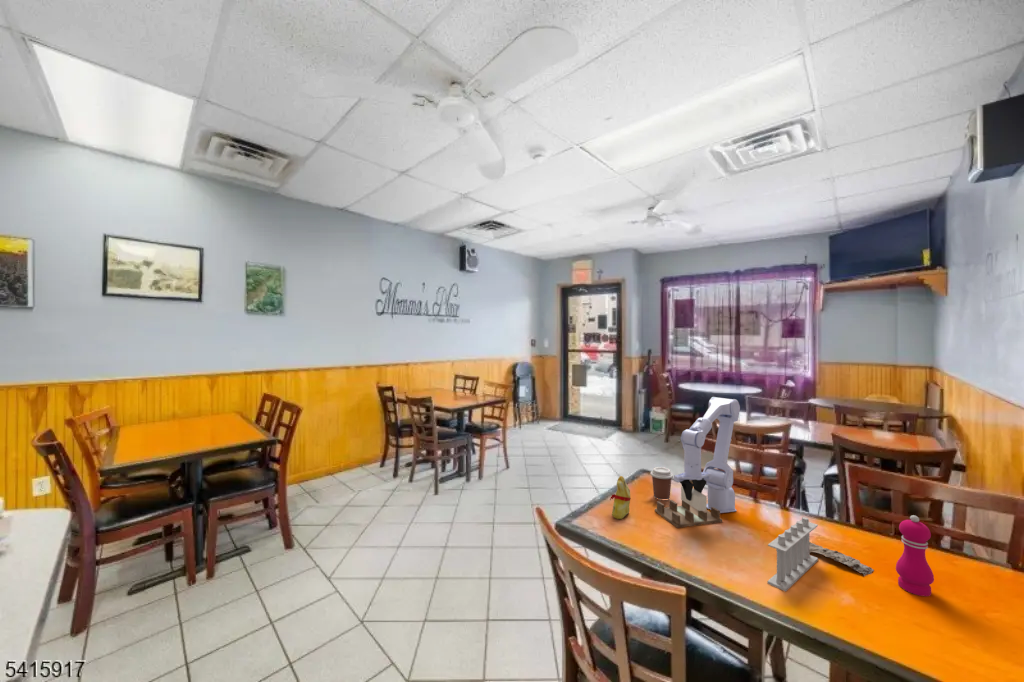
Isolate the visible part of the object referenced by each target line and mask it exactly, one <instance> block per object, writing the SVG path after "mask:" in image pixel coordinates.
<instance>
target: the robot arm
mask: <svg viewBox="0 0 1024 682" xmlns="http://www.w3.org/2000/svg"><path fill="white" fill-rule="evenodd" d="M740 409H741V406H740V402H739V401H738V400H737V399H735V398H733V399H732V398H724V397H716V396H712V397H711V398H710V399H709V401H708V408H707V410H706V412H705V413H704V415H703V416H702V417H698V418H697V419H696V420H695V422H693V424H692V425H691V426H690V427H689V429H688V428H687V429H685V430H683V431H682V433H681V435H680V442H681V444H682V449H683V451H684V452H683V453H684V454H683V456H684V457H683V459H684V461H683V462H684V463H683V464H684V465H683V466H684V467H683V469H684V472H682V473H679V474H675V475H674V474H673V480H674V482H676V483H680V484H681V486H682V487H683V489H684V492H685V496H686V499H687V500H689V501H691V499H692V489H695V490H696V491H698V492H700V493H702V494H703V490H704V488H705V487H706V486H707V509H708V510H709V509H710V511H711V507H714V508H716V509H718V510H719V511H720V514H724V513H731V512H732V513H734V512H737V509H736V493H735V490H734V489H733V487H732V486H733V484H734V470H733V468H732V467H731V466H730V465H729V464H728V459H729V454H730V453H729V452H730V447H731V441H732V436H733V429H734V425H735V423H736V422H738V420H739V416H740ZM716 419H717V420H718V421H719V424H718V429H717V434H716V435H717V436H716V441H715V446H714V452H713V458H712V459H711V460H709V461H708V462H706V463H705V465H704V468H703V471H702V447H703V446H704V444H705V440H706V439H707V435H708V434H709V432H710V431H711V430H712V428H713V427H712V426H713V425H712V424H713V422H714V421H715V420H716Z"/></svg>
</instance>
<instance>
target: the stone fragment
mask: <svg viewBox="0 0 1024 682" xmlns="http://www.w3.org/2000/svg"><path fill="white" fill-rule="evenodd" d="M809 553H815V554H816V553H817V554H820V555H823V556H825V557H827V558H830V559H833V560H834V562H840V563H842V564H844V565H847V566H848V567H849V568H851V569H853V570H854V571H857V572H858V573H860V574H863V577H865V576H866V577H868V575H872V574H873V572H874V571H875V570H874V569H873V568H872V567H870V566H868V565H866V564H864V563H861V562H860V561H861V560H859V559H856V558H854V557H851V556H850V555H847V554H844V553H842V552H841V551H838V550H831V549H829V548H824V547H823V546H822V545H817V544H815V543H814V542H810V541H809Z"/></svg>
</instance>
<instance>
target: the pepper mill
mask: <svg viewBox="0 0 1024 682" xmlns="http://www.w3.org/2000/svg"><path fill="white" fill-rule="evenodd" d="M898 530H899V532H900V534H902V535H901V542H902V543H903V546H904V547H903V552H902V554H901V556H900V557H899V558H898V560H897V562H896V565H895V571H896V572H897V574H898V575H899V577H898V578H897V581H898V582H897V583H898V584H897V585H898V586H899V587H900V588H901V587H902V588H903V590H904V589H905V590H904V591H906V592H908V593H910V594H912V595H916V596H921V597H930V596H932V595H931V594H932V587H931V585H932V584H934V581H935V577H934V574H933V570H932V568H931V566H930V565H929V563H928V561H927V558H926V550H928V548H929V546H928V545H929V543H928V541H929V540H930V539H931V536H932V533H931V530H930V529H929V527H928V526H927V525H926V524H924V523H923V522H921V521H920V517H918V516H917V515H916V514H915V515H914V514H913V515H910V516H909V519H904V520H902V521H901V522H900V523H899V526H898ZM902 588H901V589H902Z"/></svg>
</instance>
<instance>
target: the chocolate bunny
mask: <svg viewBox="0 0 1024 682" xmlns="http://www.w3.org/2000/svg"><path fill="white" fill-rule="evenodd" d="M616 487H617V488H616V492H615V493H612V494H611V497H610V499H609V500H610V501H611V500H613V505H612V512H611V516H612V517H613V518H615V519H617V520H623V519H624V518H625V517H626V516H627V515H628V514H629V513H630V503H631V490H630V487H629V486H628V484H627V482H626V479H625V477H624V476H622V475H619V477H618V478H617V480H616Z"/></svg>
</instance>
